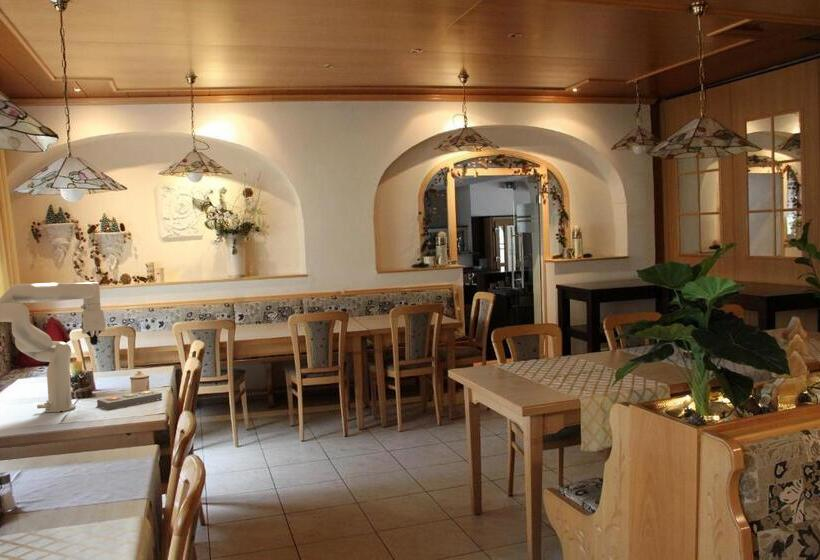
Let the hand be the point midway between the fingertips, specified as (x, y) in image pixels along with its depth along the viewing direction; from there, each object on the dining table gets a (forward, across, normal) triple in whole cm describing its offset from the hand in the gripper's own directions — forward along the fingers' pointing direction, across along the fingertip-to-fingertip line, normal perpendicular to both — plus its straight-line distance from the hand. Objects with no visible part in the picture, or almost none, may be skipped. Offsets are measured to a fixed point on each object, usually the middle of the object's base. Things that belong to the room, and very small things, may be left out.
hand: (94, 344), depth 340 cm
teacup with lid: (+27, +20, -4) cm, 34 cm away
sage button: (+27, +7, -21) cm, 35 cm away
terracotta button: (+26, -1, -21) cm, 34 cm away
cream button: (+26, +15, -21) cm, 37 cm away
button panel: (+27, +7, -21) cm, 35 cm away
